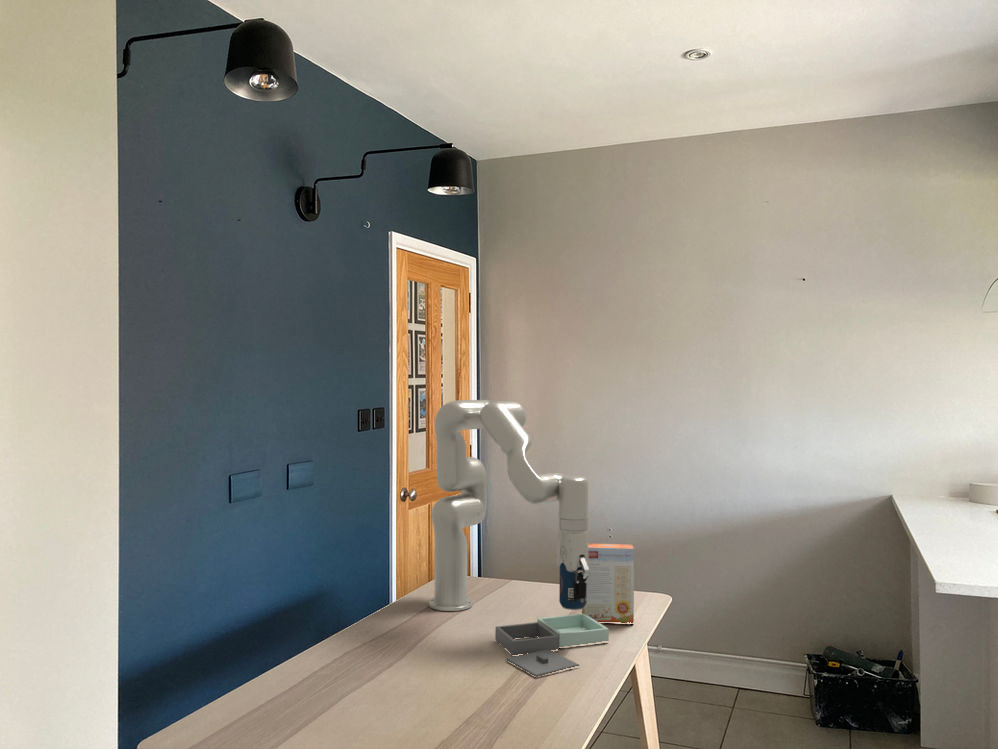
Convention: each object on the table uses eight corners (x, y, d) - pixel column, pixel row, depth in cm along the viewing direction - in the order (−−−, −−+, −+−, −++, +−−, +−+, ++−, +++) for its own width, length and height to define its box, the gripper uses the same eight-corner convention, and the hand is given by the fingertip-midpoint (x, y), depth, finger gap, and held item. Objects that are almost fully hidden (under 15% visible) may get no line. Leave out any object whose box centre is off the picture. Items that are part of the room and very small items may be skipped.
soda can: (560, 602, 206) (560, 556, 206) (587, 603, 205) (587, 557, 205) (558, 609, 199) (558, 562, 199) (585, 611, 198) (585, 563, 198)
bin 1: (495, 640, 199) (495, 626, 199) (539, 635, 203) (539, 621, 203) (513, 656, 188) (513, 641, 188) (558, 651, 192) (559, 636, 192)
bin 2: (537, 632, 206) (537, 618, 206) (583, 627, 211) (584, 613, 211) (559, 649, 193) (559, 634, 193) (608, 643, 198) (608, 628, 198)
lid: (506, 661, 184) (506, 653, 184) (547, 652, 191) (547, 644, 191) (536, 678, 174) (536, 670, 174) (578, 668, 181) (579, 660, 181)
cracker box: (632, 619, 218) (633, 543, 218) (633, 626, 212) (634, 548, 212) (581, 617, 219) (582, 542, 219) (581, 624, 213) (582, 546, 213)
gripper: (546, 519, 209) (545, 587, 209) (575, 531, 193) (574, 605, 192) (571, 518, 211) (571, 585, 211) (602, 529, 195) (602, 602, 195)
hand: (572, 593), depth 202 cm, fingers closed on soda can, 6 cm apart
